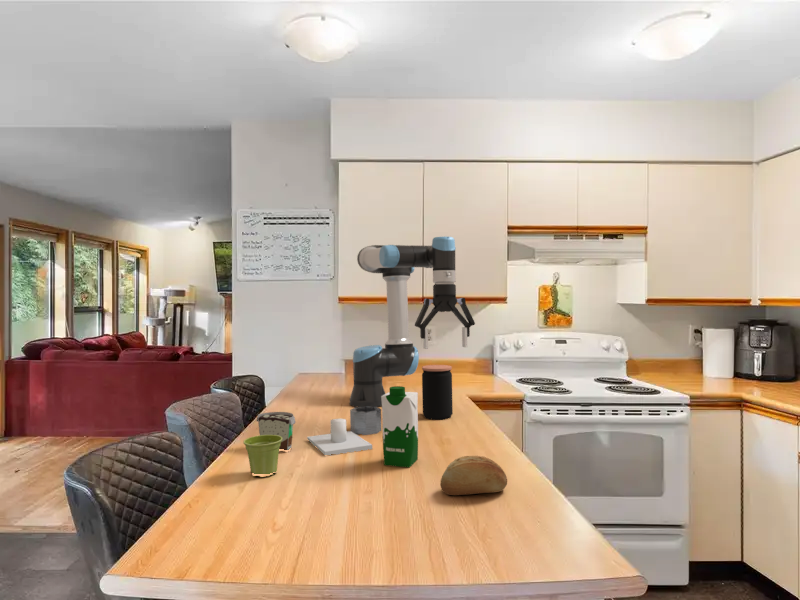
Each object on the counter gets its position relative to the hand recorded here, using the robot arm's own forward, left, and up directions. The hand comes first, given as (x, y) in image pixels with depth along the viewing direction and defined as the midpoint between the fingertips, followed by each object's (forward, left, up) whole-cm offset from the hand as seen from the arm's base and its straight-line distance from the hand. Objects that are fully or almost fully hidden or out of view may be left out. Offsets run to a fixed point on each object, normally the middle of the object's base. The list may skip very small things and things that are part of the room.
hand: (445, 347), depth 177 cm
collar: (-8, -26, -26) cm, 37 cm away
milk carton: (+27, -30, -26) cm, 48 cm away
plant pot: (+19, -64, -26) cm, 72 cm away
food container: (-2, -55, -26) cm, 61 cm away
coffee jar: (-14, +4, -26) cm, 30 cm away
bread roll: (+54, -25, -26) cm, 65 cm away
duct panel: (+3, -39, -26) cm, 47 cm away
